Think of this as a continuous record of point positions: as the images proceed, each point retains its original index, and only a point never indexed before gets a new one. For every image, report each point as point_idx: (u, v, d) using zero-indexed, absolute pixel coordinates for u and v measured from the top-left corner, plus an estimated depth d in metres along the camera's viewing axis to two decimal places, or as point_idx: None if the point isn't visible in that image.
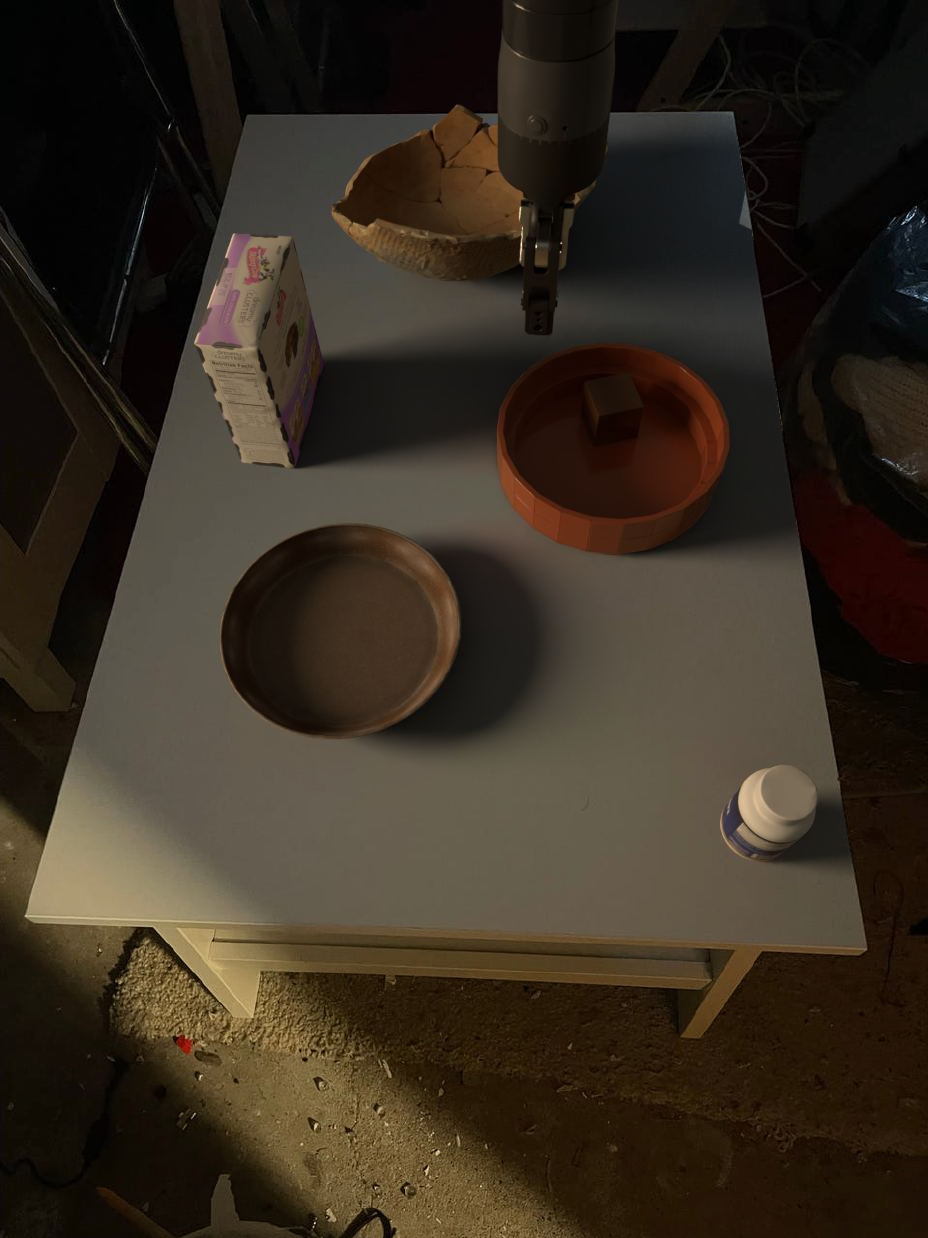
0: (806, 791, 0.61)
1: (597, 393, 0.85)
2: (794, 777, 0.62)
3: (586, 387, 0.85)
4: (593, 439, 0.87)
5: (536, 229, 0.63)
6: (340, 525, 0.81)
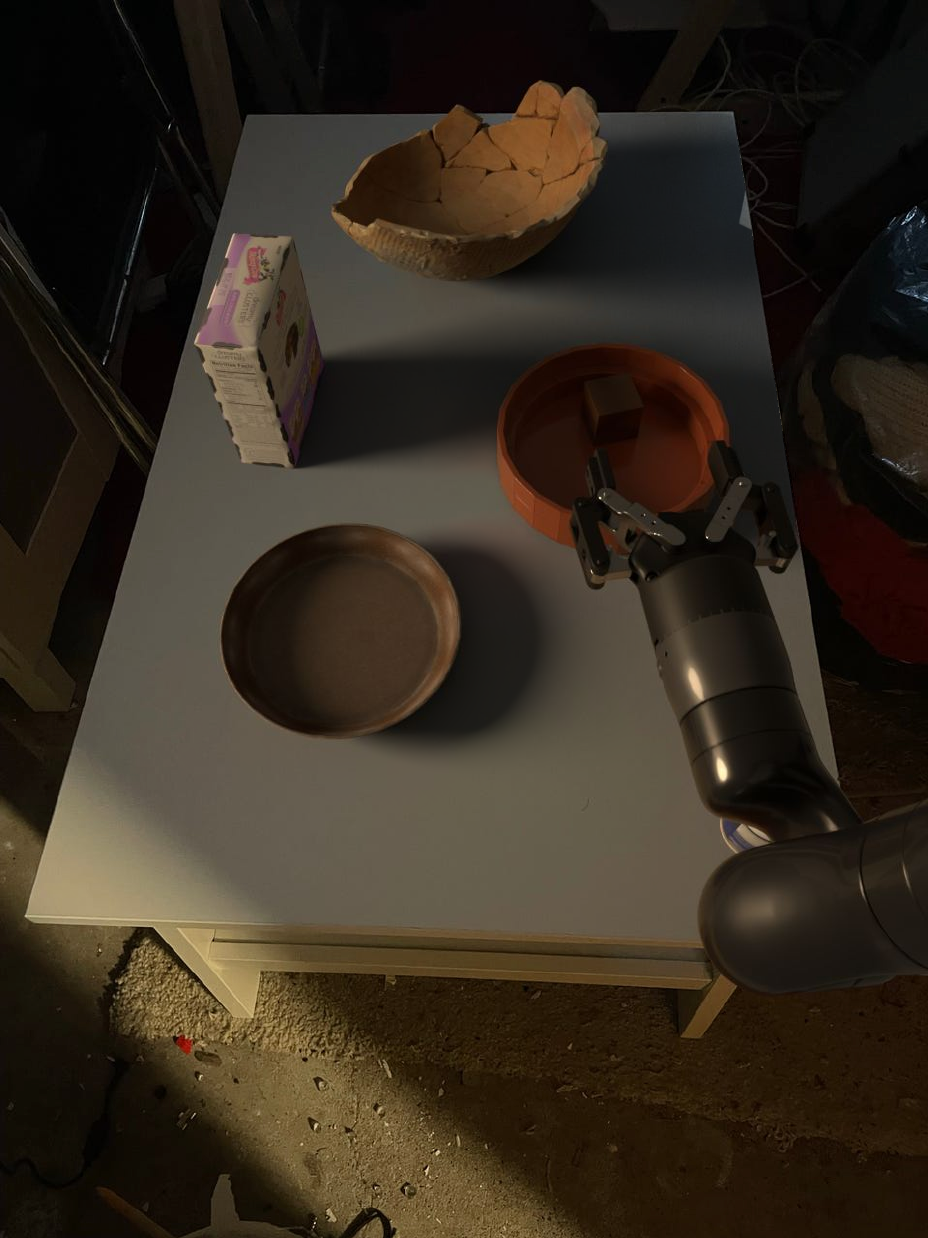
0: None
1: (597, 393, 0.85)
2: None
3: (586, 387, 0.85)
4: (593, 439, 0.87)
5: None
6: (340, 525, 0.81)
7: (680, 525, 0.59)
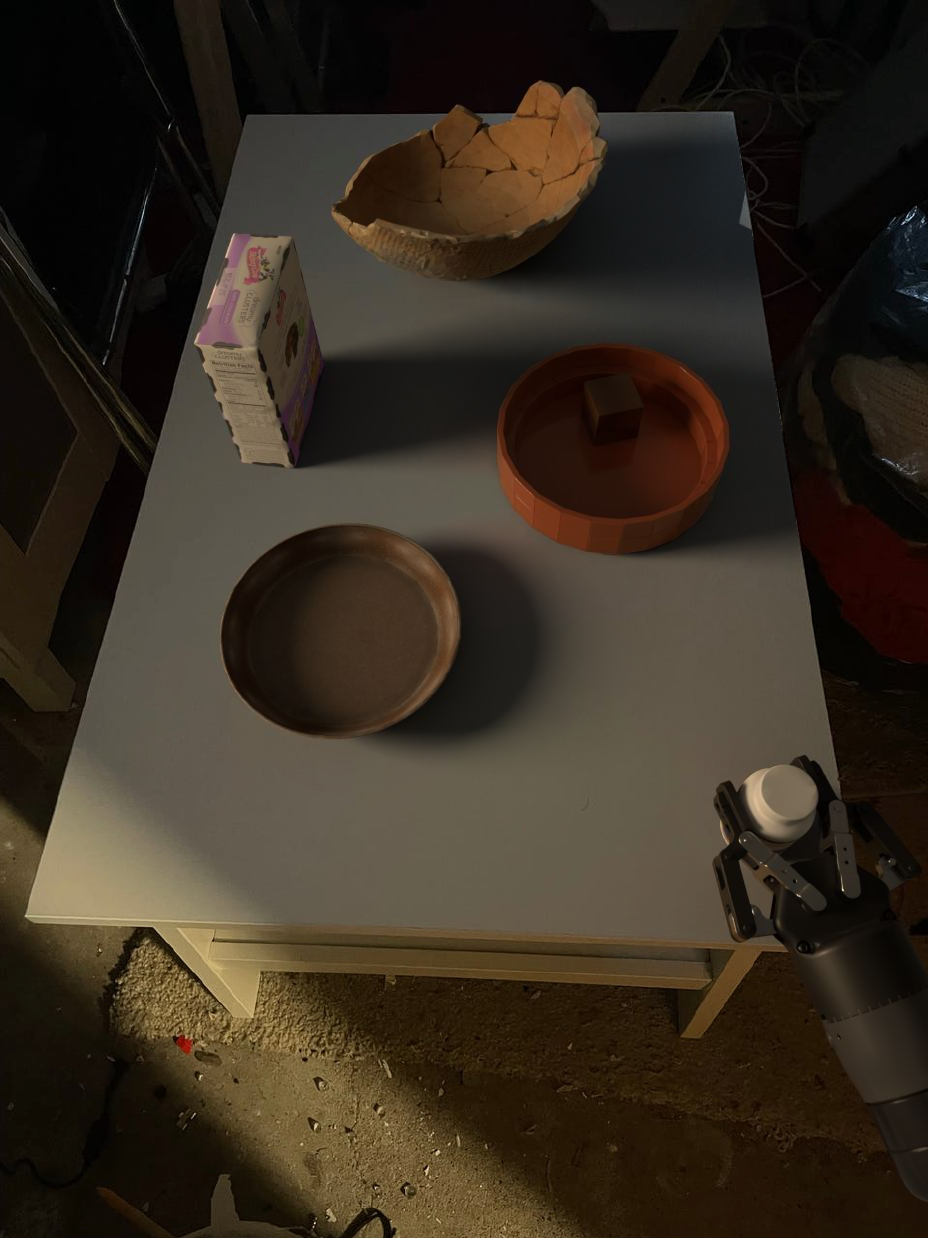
0: (806, 791, 0.61)
1: (597, 393, 0.85)
2: (794, 777, 0.62)
3: (586, 387, 0.85)
4: (593, 439, 0.87)
5: None
6: (340, 525, 0.81)
7: (813, 877, 0.61)
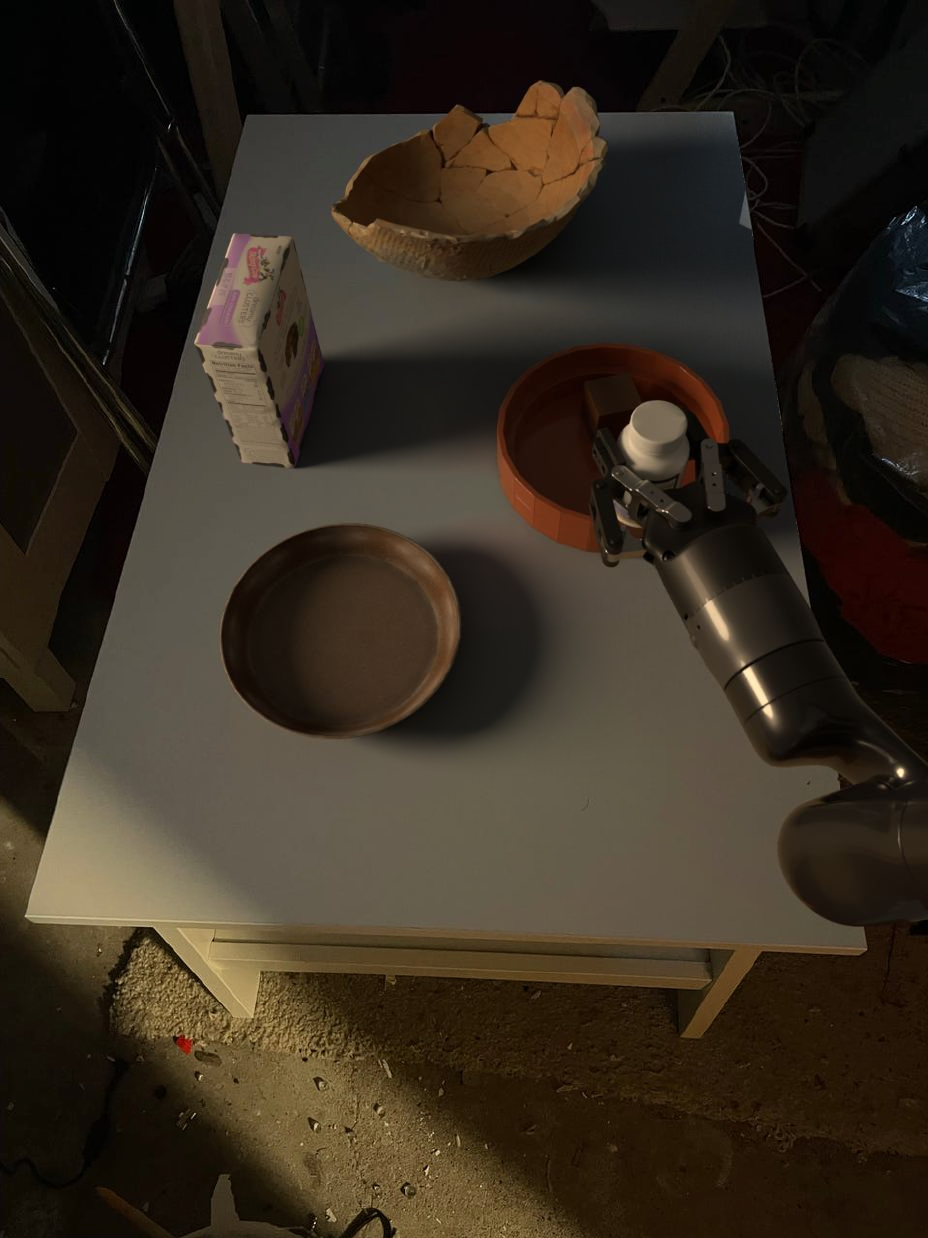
0: (676, 420, 0.63)
1: (597, 393, 0.85)
2: (664, 409, 0.63)
3: (586, 387, 0.85)
4: (593, 439, 0.87)
5: None
6: (340, 525, 0.81)
7: (682, 500, 0.62)
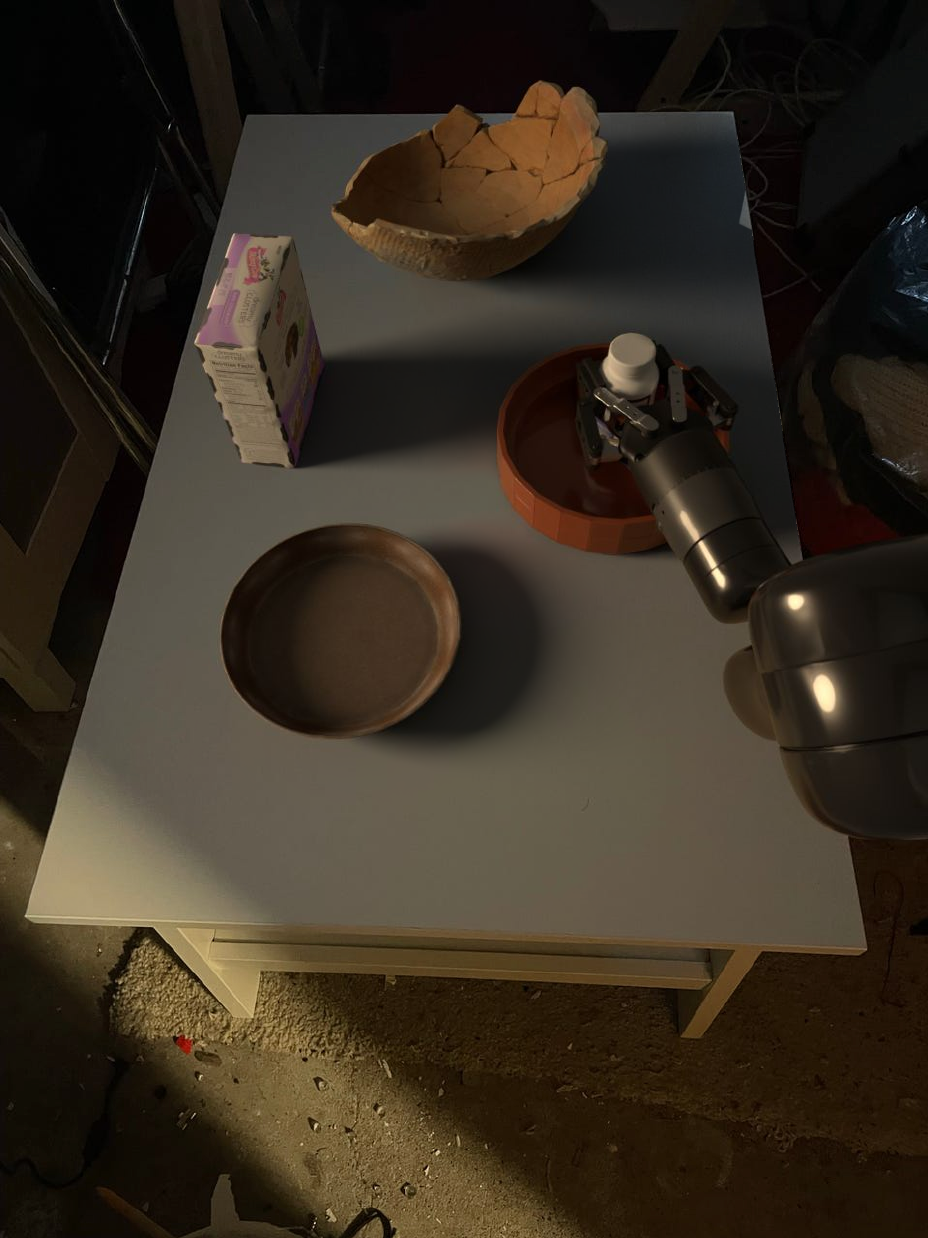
0: (646, 348, 0.76)
1: None
2: (637, 340, 0.76)
3: (576, 369, 0.86)
4: None
5: None
6: (340, 525, 0.81)
7: (651, 414, 0.75)
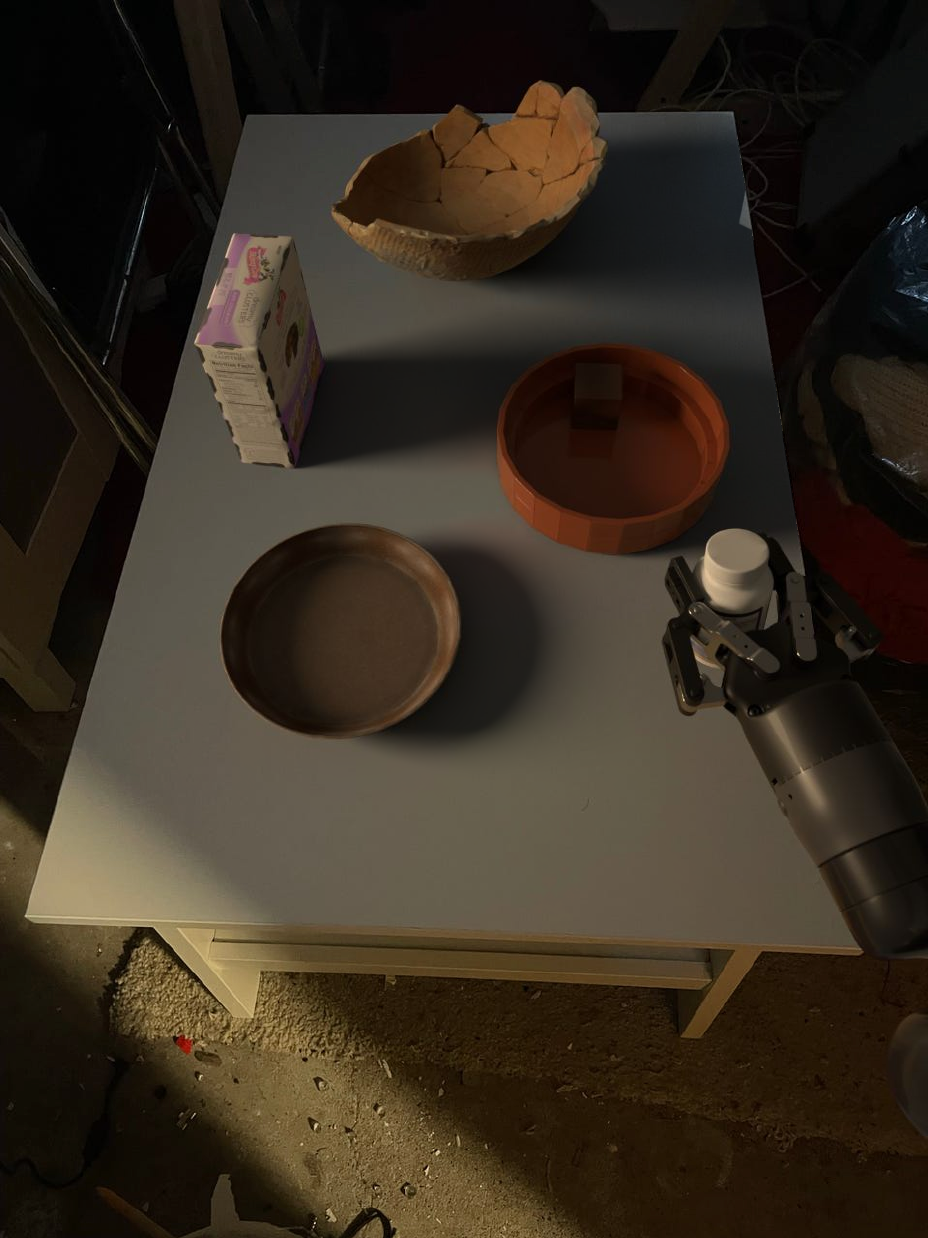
0: (756, 548, 0.58)
1: (582, 376, 0.86)
2: (743, 537, 0.58)
3: (575, 369, 0.86)
4: (571, 421, 0.88)
5: None
6: (340, 525, 0.81)
7: (767, 645, 0.57)
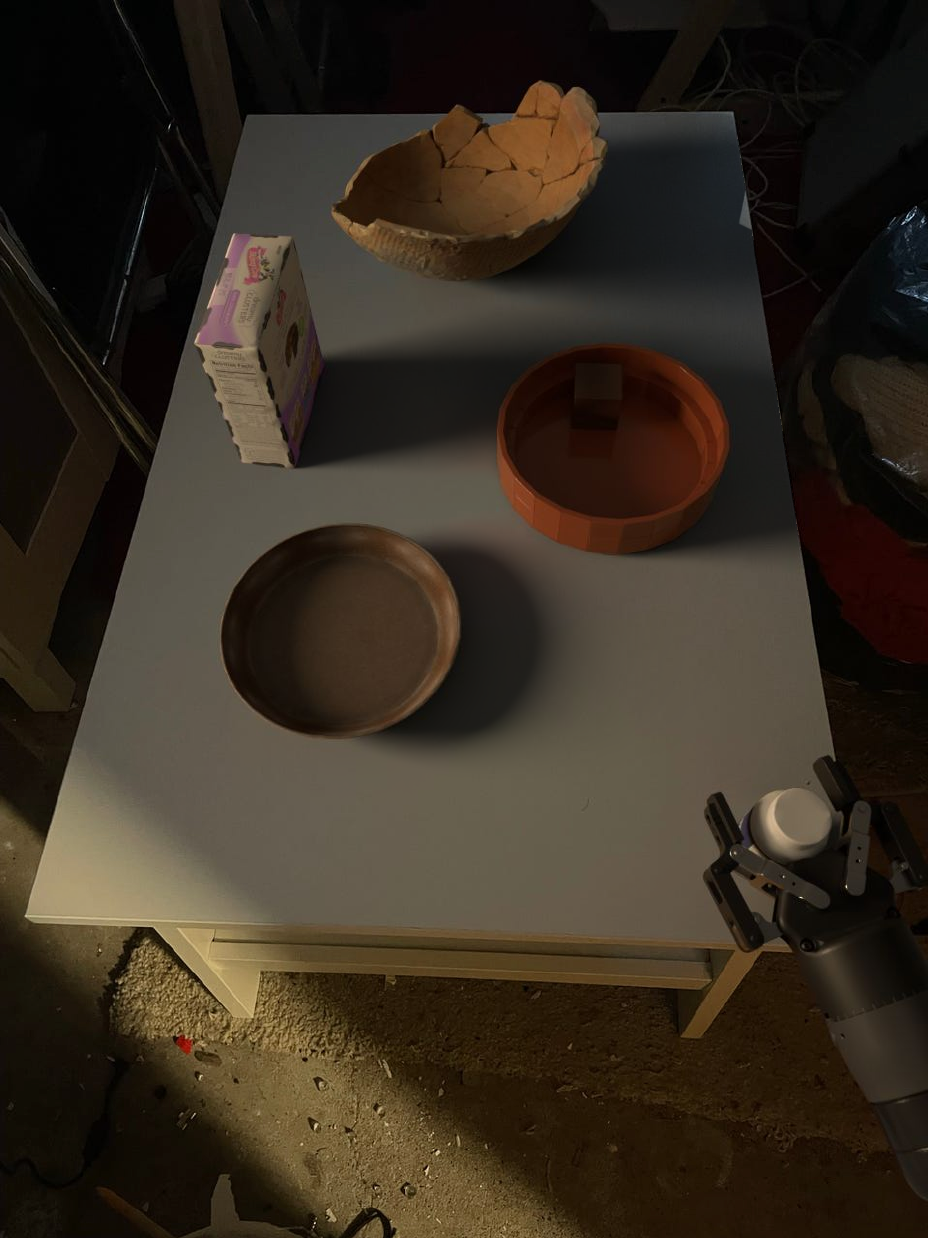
0: (820, 816, 0.61)
1: (582, 376, 0.86)
2: (808, 801, 0.61)
3: (575, 369, 0.86)
4: (571, 421, 0.88)
5: None
6: (340, 525, 0.81)
7: (817, 875, 0.60)
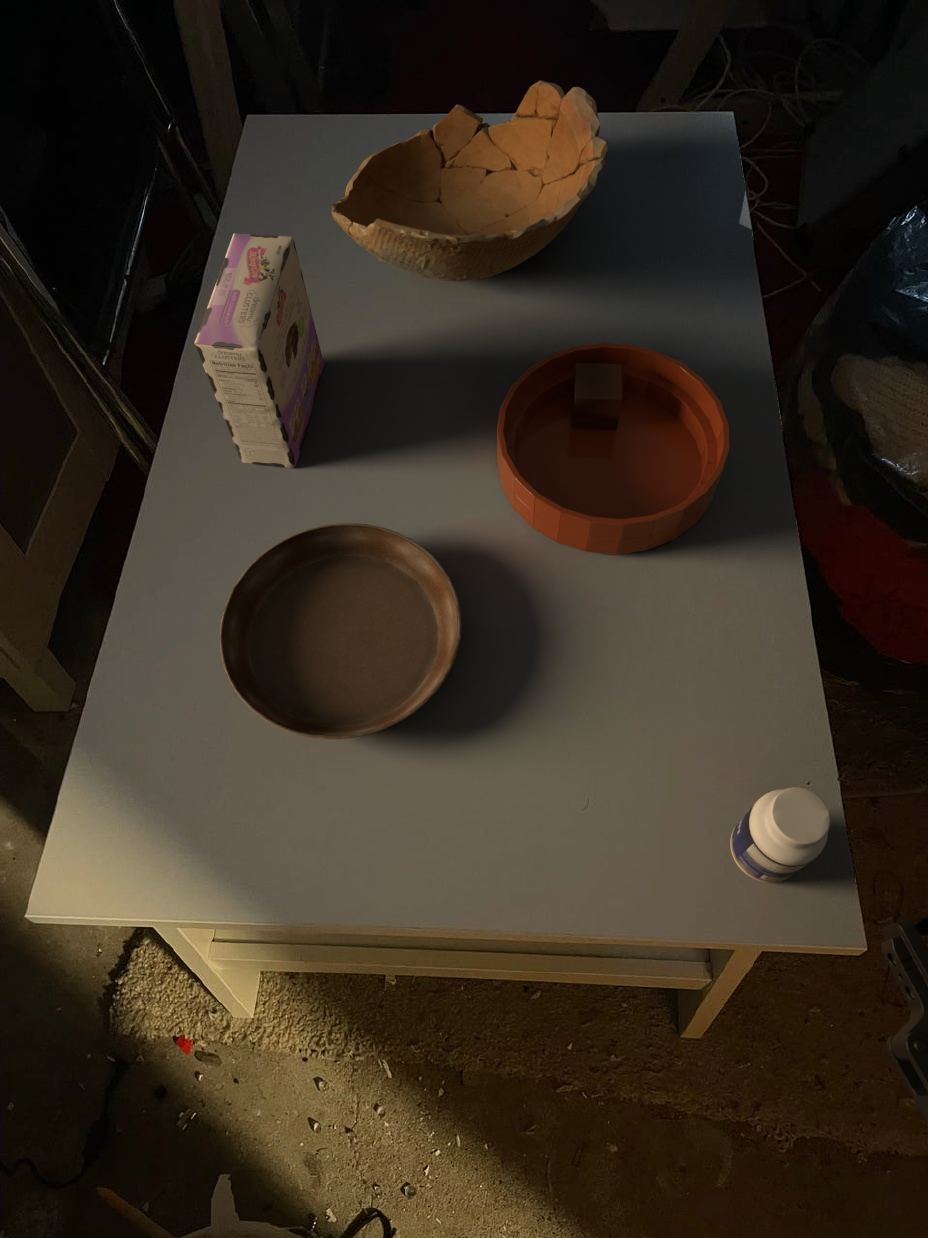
0: (819, 815, 0.61)
1: (582, 376, 0.86)
2: (806, 800, 0.61)
3: (575, 369, 0.86)
4: (571, 421, 0.88)
5: None
6: (340, 525, 0.81)
7: None
